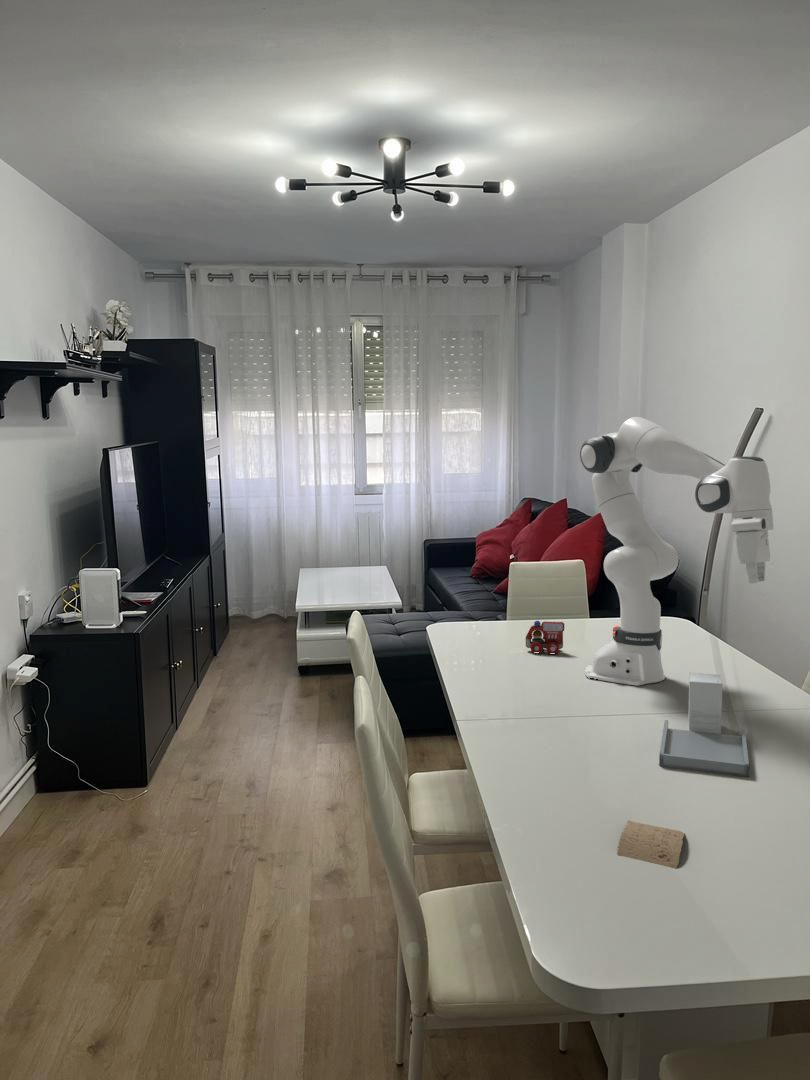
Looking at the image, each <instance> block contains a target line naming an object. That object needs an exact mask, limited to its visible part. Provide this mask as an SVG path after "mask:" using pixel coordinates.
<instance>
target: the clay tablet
mask: <svg viewBox="0 0 810 1080" xmlns="http://www.w3.org/2000/svg"><path fill="white" fill-rule="evenodd" d="M622 831H623V832H621V834H620V837H619V839H618V840H619V842H618V846H617V852H616V854H617V856H618V857H625V858H629V859H634V860H637V861H638V860H639V861H641V862H646V863H651V864H654V865H659V866H663V867H667V868H671V869H677V867H678V865H679V863H680V855H681V853H682V847H683V843H684V842H683V839H684V837H685V835H686V833H685V832H682V831H681V830H678V829H671V828H667V827H663V826H655V825H651V824H646V823H645V824H644V823H641V822H636V821H632V820H630V819H627V821H626V824H625V827H624V829H623V830H622Z"/></svg>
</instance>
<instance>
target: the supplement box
mask: <svg viewBox="0 0 810 1080" xmlns="http://www.w3.org/2000/svg"><path fill="white" fill-rule="evenodd" d="M688 674H689V675H688V715H687V716H688V717H687V719H688V720H687V721H688V731H696V732H705V733H715V734H722V715H723V714H722V710H723V708H722V707H723V681H722V677H721V674H718V673H717V674H714V673H701V672H689V673H688Z"/></svg>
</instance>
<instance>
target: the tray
mask: <svg viewBox="0 0 810 1080" xmlns="http://www.w3.org/2000/svg"><path fill="white" fill-rule="evenodd" d="M660 743H661V744H660V750H659V756H658V757H659V761H658V762H659V763H658V766H659V767H668V768H675V769H682V770H691V771H701V772H706V773H716V774H723V775H731V776H739V777H746V778H749V777H750V776H749V774H750V762H749V755H748V754H749V752H748V744H747V735H746V728H745V727H744V728H743V727H741V728H740V735H739V736H738V735H733V734H732V735H731V734H723V733H721V734H715V733H705V732H696V731H689V730H686V729H684V730H683V729H676V728H675V729H674V728H669V720H667V719H664V723H663V730H662V736H661V742H660Z"/></svg>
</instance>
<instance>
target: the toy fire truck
mask: <svg viewBox="0 0 810 1080" xmlns="http://www.w3.org/2000/svg"><path fill="white" fill-rule="evenodd" d="M533 623H534V624H533V625H531V626H530V628H529V630H528V631H527V633H526V635H525V647H526V648H528V649H530V651H531V653H533V652H539V653H540V654H541V653H542V652H543V651H544V649H546V652H547V653H548V654H549V653H557V654H558V653H559V652H560V650H561V649H562V648H564V631H565V622H563V621H542V623H541V621H539V620H535V621H534V622H533Z"/></svg>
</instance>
